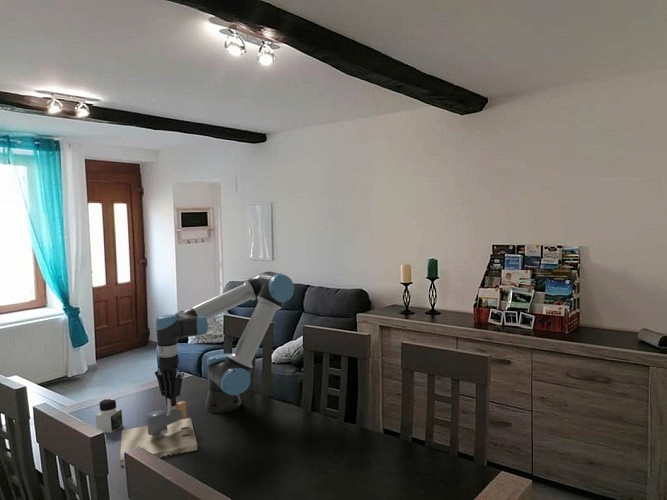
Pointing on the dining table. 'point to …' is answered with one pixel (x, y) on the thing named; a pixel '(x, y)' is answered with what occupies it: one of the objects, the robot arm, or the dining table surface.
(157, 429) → the uneven dumbbell rattle
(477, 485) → the dining table surface
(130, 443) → the base board
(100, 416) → the medicine bottle
